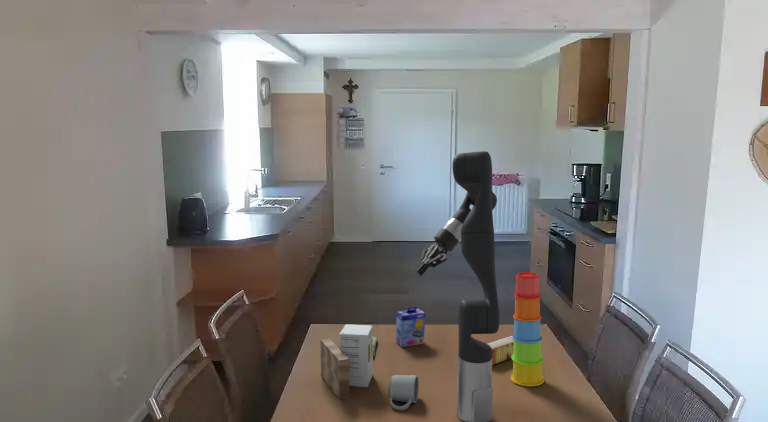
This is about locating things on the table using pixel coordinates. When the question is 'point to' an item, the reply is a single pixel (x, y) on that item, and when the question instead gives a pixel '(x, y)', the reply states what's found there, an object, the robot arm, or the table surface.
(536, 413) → the table surface
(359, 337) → the supplement box
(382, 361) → the table surface
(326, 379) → the wooden board
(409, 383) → the ceramic mug
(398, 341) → the ink cartridge box
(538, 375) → the stacking cups
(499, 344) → the snack package
